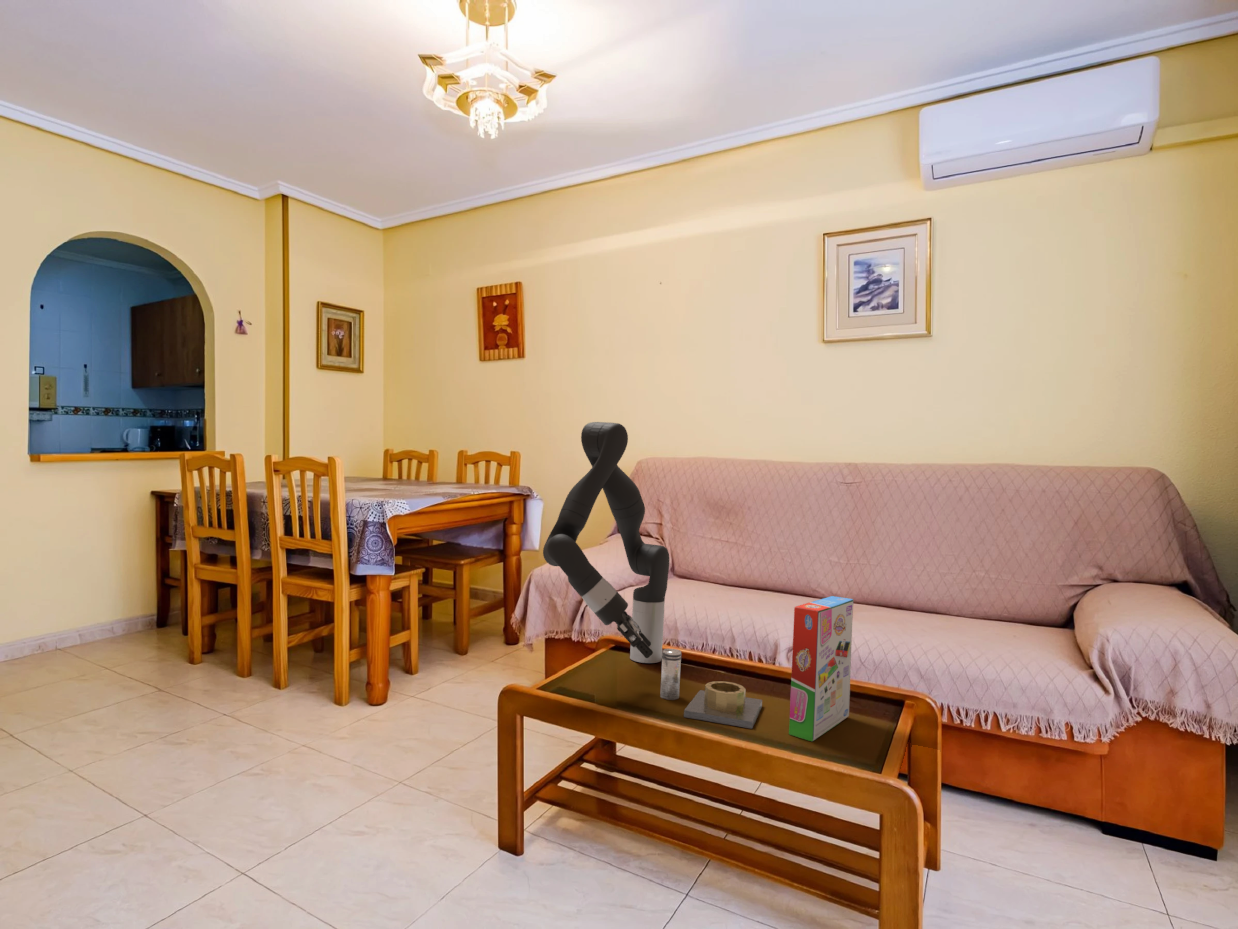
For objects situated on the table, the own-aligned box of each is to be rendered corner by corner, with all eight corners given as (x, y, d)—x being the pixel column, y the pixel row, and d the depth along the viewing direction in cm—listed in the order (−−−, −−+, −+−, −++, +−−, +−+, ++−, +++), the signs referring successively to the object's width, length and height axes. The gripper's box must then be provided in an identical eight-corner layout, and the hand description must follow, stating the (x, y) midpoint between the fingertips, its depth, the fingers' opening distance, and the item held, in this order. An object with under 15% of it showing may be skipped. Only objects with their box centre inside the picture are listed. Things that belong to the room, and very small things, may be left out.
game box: (826, 711, 156) (831, 595, 157) (849, 718, 153) (855, 599, 153) (787, 735, 140) (793, 605, 141) (812, 742, 137) (818, 609, 137)
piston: (662, 692, 164) (665, 647, 164) (681, 695, 162) (683, 650, 163) (657, 698, 160) (659, 651, 160) (676, 701, 158) (678, 654, 158)
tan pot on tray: (699, 696, 163) (700, 673, 163) (761, 706, 158) (763, 682, 158) (683, 717, 147) (685, 692, 148) (752, 729, 142) (753, 703, 143)
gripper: (616, 595, 154) (663, 648, 154) (616, 585, 169) (658, 633, 168) (592, 617, 154) (638, 669, 154) (593, 605, 168) (636, 653, 168)
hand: (649, 651), depth 161 cm, fingers open, 8 cm apart
